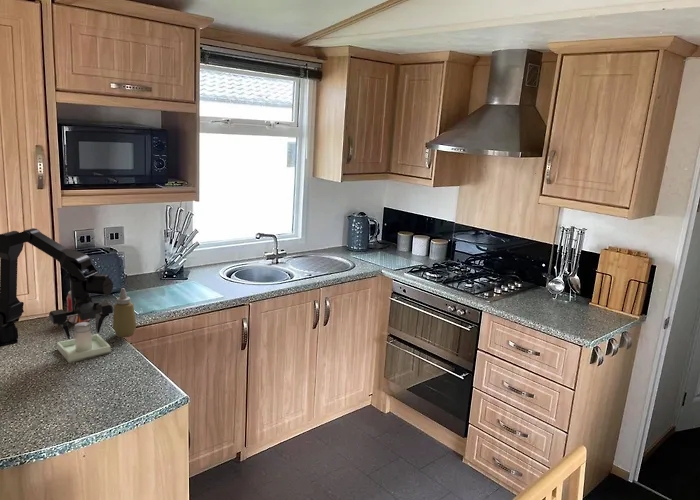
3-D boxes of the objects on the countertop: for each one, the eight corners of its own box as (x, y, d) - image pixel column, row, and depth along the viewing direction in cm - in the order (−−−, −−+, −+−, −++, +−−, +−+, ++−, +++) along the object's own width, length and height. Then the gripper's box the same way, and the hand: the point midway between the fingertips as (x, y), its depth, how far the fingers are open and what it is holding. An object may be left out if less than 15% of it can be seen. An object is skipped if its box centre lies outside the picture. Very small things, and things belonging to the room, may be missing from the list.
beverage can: (68, 318, 212) (66, 289, 209) (90, 316, 215) (88, 287, 213) (68, 326, 205) (66, 296, 202) (91, 323, 209) (89, 294, 206)
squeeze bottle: (140, 331, 204) (138, 285, 200) (132, 339, 196) (130, 292, 192) (118, 330, 203) (115, 284, 199) (109, 338, 196) (107, 291, 191)
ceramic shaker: (78, 353, 181) (76, 328, 179) (73, 348, 185) (71, 323, 183) (94, 350, 185) (93, 325, 182) (89, 345, 188) (88, 320, 186)
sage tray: (68, 362, 176) (68, 355, 175) (57, 349, 185) (57, 342, 185) (110, 353, 185) (110, 346, 184) (97, 340, 194) (97, 333, 193)
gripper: (56, 304, 168) (60, 350, 172) (117, 293, 180) (120, 337, 184) (46, 294, 176) (50, 339, 180) (106, 285, 188) (108, 327, 192)
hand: (83, 335), depth 184 cm, fingers open, 9 cm apart
